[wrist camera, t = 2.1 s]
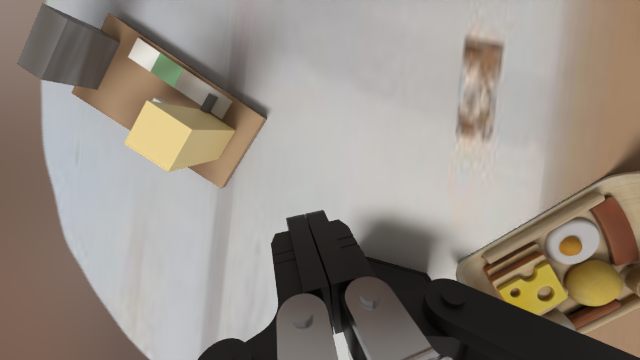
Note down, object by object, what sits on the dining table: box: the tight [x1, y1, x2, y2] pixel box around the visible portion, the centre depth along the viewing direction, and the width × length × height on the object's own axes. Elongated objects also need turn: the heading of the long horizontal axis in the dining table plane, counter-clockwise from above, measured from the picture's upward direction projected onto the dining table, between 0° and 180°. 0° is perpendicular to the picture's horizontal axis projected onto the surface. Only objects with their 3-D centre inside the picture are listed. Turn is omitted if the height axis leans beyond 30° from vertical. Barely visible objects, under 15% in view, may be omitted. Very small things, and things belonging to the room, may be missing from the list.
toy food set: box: [456, 171, 640, 334], centre depth 31 cm, size 25×18×8 cm
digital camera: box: [365, 256, 432, 291], centre depth 31 cm, size 10×5×7 cm, turn 74°
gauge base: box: [17, 4, 266, 188], centre depth 28 cm, size 20×10×7 cm, turn 56°
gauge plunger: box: [124, 93, 236, 172], centre depth 25 cm, size 8×6×10 cm
